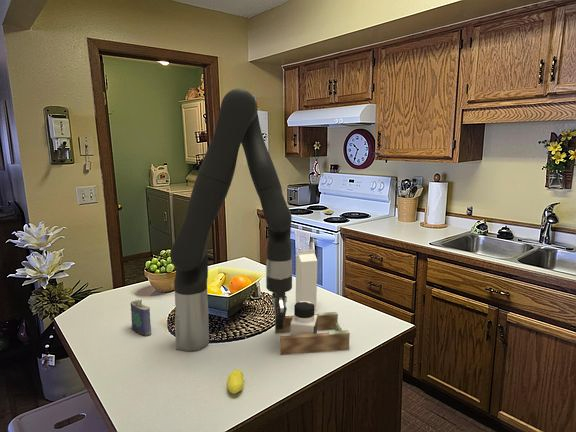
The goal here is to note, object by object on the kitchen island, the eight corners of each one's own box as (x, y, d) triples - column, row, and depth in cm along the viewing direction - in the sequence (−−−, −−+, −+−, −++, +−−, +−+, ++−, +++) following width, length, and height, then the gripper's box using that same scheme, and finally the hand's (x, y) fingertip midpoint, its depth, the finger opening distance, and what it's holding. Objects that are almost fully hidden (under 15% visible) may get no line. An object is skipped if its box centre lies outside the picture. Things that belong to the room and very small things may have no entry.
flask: (153, 334, 121) (150, 302, 119) (144, 337, 119) (142, 305, 117) (137, 325, 127) (135, 294, 125) (129, 328, 125) (126, 297, 123)
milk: (316, 311, 138) (318, 251, 134) (300, 313, 136) (301, 253, 132) (310, 304, 144) (312, 247, 139) (295, 306, 142) (296, 248, 138)
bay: (280, 355, 110) (280, 337, 109) (275, 331, 123) (275, 315, 122) (349, 349, 113) (349, 332, 112) (335, 327, 126) (336, 311, 125)
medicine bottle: (313, 348, 114) (314, 309, 111) (290, 345, 115) (290, 307, 113) (317, 336, 121) (317, 299, 118) (294, 333, 122) (294, 297, 120)
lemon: (246, 378, 99) (246, 364, 98) (241, 399, 91) (241, 384, 91) (230, 378, 99) (229, 364, 99) (224, 398, 92) (223, 383, 91)
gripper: (264, 266, 118) (264, 319, 122) (268, 281, 106) (269, 340, 109) (288, 265, 119) (288, 317, 123) (295, 280, 107) (295, 338, 110)
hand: (279, 328), depth 116 cm, fingers closed
